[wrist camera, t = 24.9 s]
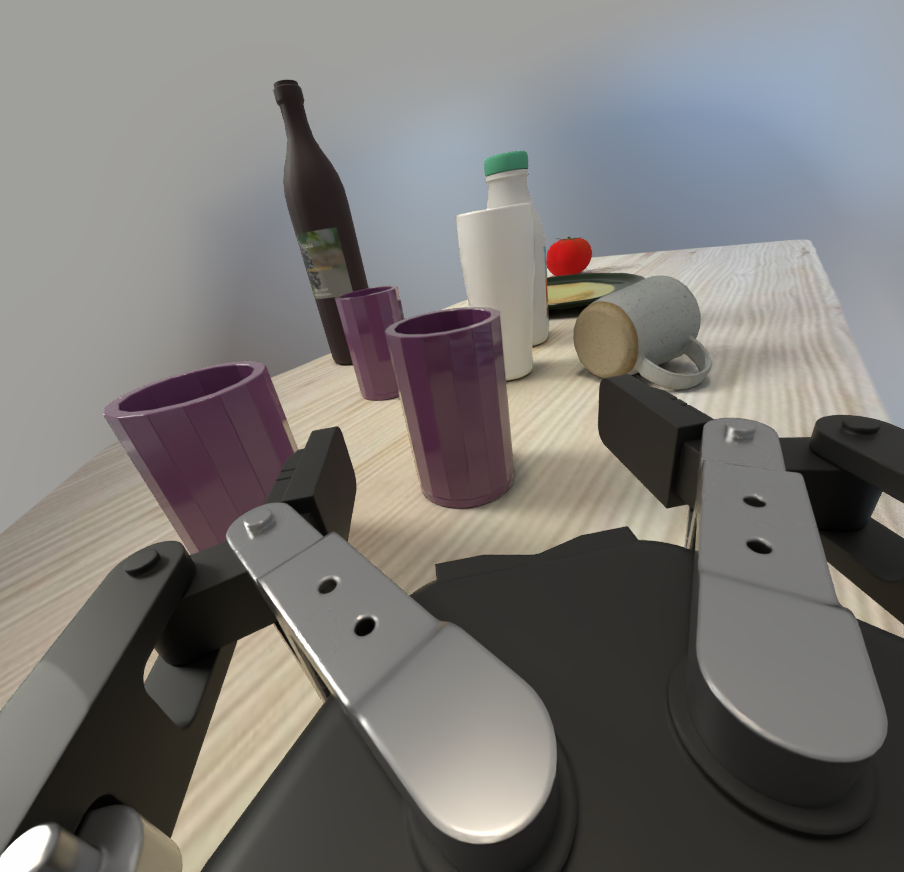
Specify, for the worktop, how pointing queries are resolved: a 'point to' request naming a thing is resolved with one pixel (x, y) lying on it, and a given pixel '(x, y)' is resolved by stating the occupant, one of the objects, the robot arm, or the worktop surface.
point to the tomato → (568, 256)
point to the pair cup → (205, 445)
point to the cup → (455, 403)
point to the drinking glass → (502, 275)
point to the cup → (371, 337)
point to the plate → (585, 288)
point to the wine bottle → (319, 218)
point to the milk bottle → (510, 189)
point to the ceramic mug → (643, 333)
